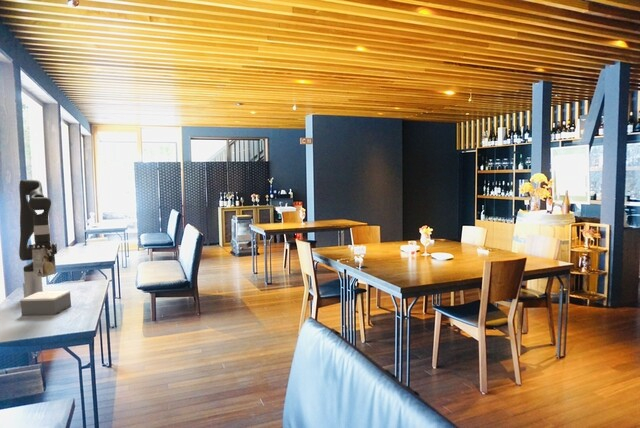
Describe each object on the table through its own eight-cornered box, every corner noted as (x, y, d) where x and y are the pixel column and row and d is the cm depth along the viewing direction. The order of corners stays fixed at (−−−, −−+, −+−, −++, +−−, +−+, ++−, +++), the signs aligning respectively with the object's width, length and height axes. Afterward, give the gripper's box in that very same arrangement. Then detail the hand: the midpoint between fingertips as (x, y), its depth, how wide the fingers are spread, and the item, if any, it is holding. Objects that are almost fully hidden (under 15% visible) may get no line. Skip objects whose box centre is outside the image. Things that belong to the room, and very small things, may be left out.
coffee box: (46, 273, 251) (44, 245, 250) (56, 273, 250) (54, 245, 249) (33, 277, 242) (31, 248, 241) (43, 277, 241) (41, 248, 240)
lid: (20, 301, 239) (20, 299, 239) (38, 293, 255) (38, 291, 255) (54, 300, 239) (54, 298, 239) (70, 292, 255) (70, 290, 255)
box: (21, 315, 239) (20, 301, 239) (39, 307, 255) (38, 293, 255) (55, 314, 240) (54, 300, 239) (71, 306, 256) (70, 292, 255)
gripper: (58, 232, 248) (60, 260, 249) (33, 232, 248) (35, 261, 249) (51, 233, 241) (53, 263, 242) (24, 234, 240) (26, 264, 241)
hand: (44, 262), depth 245 cm, fingers closed on coffee box, 7 cm apart
